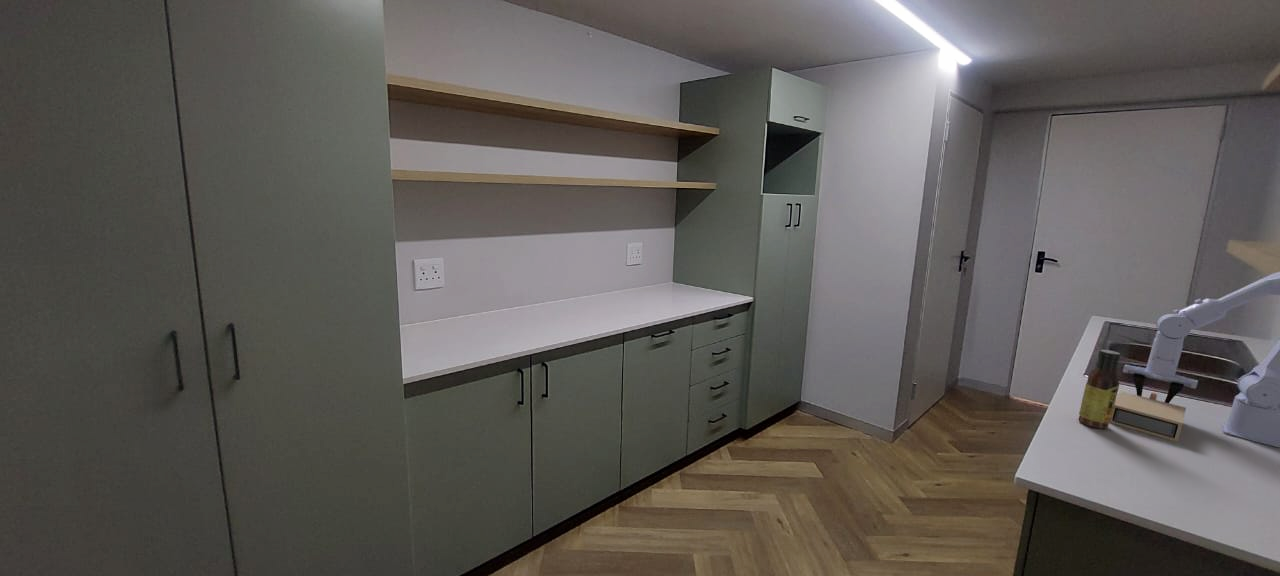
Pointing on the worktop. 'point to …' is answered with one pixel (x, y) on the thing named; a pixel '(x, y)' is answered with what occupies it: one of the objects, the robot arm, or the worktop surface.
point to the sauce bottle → (1100, 391)
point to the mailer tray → (1145, 421)
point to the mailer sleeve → (1150, 412)
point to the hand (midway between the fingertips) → (1151, 403)
